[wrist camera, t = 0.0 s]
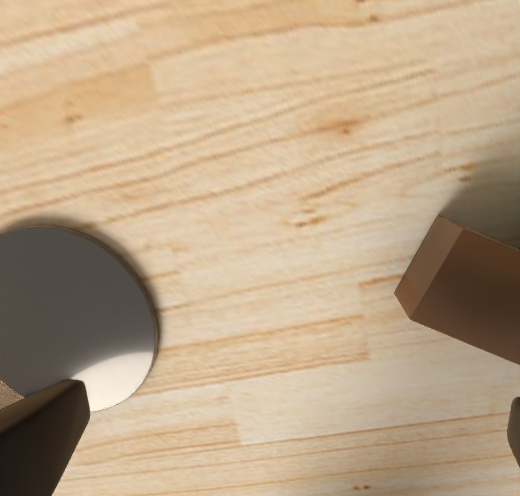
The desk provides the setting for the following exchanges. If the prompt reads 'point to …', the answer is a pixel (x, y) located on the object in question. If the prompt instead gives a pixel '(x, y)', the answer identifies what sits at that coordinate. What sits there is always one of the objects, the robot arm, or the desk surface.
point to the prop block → (466, 288)
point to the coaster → (72, 316)
